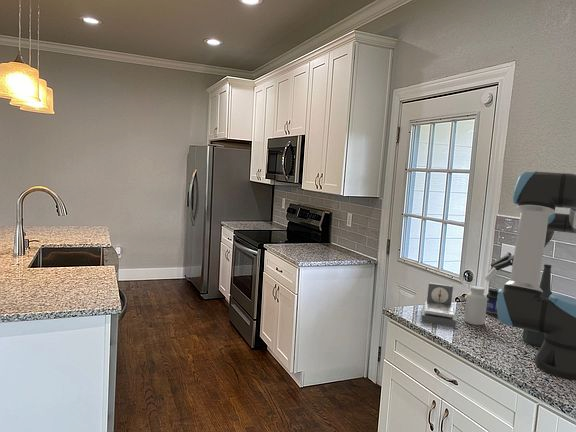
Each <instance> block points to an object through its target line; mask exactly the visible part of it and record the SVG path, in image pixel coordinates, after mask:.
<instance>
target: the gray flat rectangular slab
mask: <svg viewBox="0 0 576 432" xmlns="http://www.w3.org/2000/svg"><path fill="white" fill-rule="evenodd" d="M424 304H425V313H427V314H433V315H440V316H446V317H452V318H454V313H453V308H454V307H453V305H452V304H451V305H444V304H438V303H431V302H427V301H425V303H424Z"/></svg>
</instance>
